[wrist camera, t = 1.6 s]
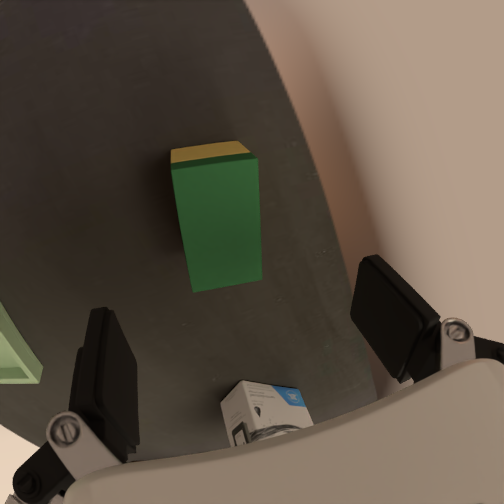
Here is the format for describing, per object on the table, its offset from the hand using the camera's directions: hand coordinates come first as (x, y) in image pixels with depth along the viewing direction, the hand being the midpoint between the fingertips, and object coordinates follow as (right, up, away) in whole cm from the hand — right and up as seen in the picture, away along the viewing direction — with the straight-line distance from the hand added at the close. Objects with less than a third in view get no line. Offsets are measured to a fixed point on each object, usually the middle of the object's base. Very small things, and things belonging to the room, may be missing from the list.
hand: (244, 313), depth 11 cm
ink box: (+1, -14, +22) cm, 26 cm away
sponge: (-2, +6, +8) cm, 10 cm away
